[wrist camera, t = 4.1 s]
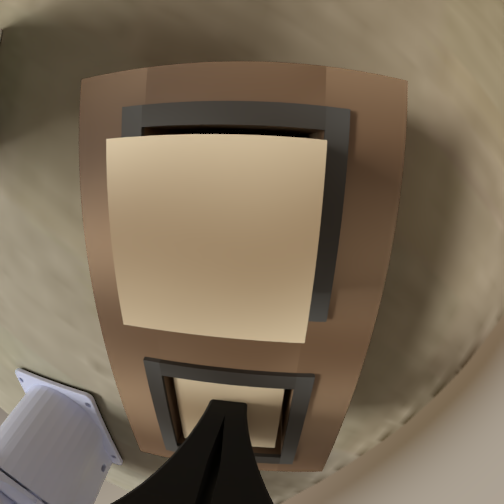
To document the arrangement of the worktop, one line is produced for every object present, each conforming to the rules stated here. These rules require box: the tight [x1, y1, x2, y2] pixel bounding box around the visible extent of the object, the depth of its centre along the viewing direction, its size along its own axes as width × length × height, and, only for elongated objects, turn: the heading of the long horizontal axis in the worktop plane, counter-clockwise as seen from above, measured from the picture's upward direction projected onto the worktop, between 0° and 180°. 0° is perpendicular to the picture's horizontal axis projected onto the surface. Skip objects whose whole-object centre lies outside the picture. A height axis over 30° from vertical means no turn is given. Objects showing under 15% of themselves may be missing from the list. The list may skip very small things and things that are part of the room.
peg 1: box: [106, 134, 327, 343], centre depth 8 cm, size 4×4×4 cm
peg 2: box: [173, 377, 284, 448], centre depth 13 cm, size 4×4×4 cm
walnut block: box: [79, 61, 407, 472], centre depth 11 cm, size 16×9×5 cm, turn 178°
